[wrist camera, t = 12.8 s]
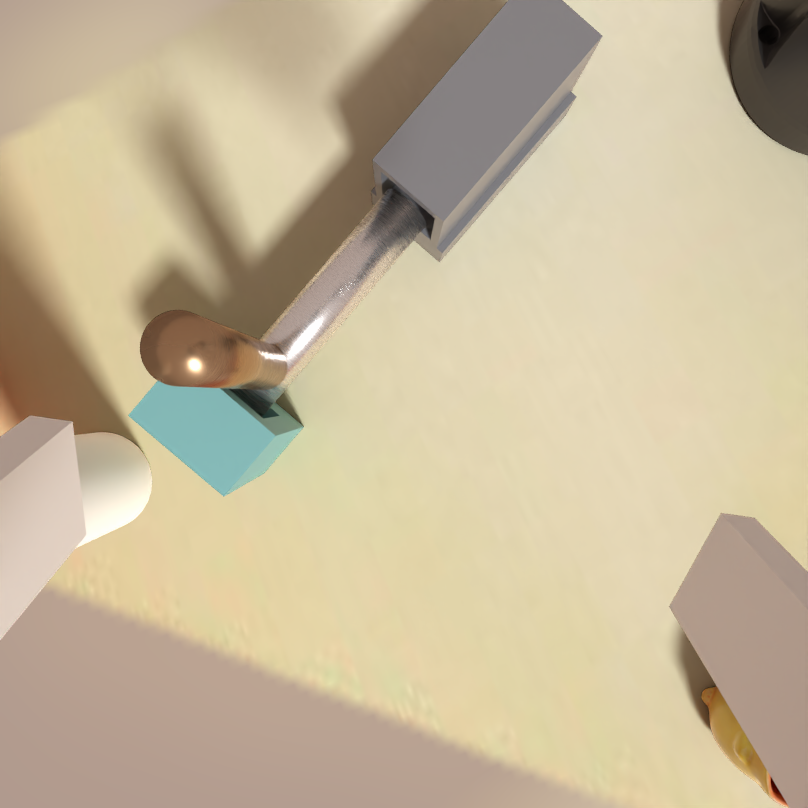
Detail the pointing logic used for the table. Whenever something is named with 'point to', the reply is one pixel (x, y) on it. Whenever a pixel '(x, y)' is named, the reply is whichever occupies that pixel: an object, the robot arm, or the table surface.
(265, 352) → the sliding bolt
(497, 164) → the outer sleeve
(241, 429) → the end socket
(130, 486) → the cylindrical container
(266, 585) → the table surface
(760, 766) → the mug
